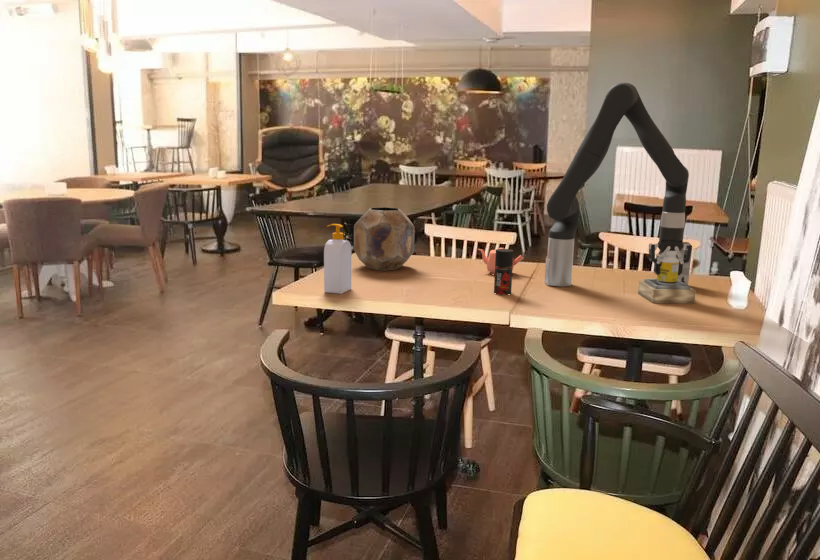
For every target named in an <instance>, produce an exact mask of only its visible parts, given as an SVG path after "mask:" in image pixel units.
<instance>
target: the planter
mask: <svg viewBox="0 0 820 560" xmlns="http://www.w3.org/2000/svg"><path fill="white" fill-rule="evenodd" d="M415 233H416V232H415V225H414V224H413V222H412V221H411V220H410V218H409V217H408V216H407V215H406V214H405V213H404V212H403V211H402V210H401V209H400V208H397V207H386V206H385V207H370V208H368V210H367V211H366V212H365V213H364V214H363V215H362V216H361V217H360V218H359V219H358V220H357V221H356V222H355V224H354V225H353V251H354V253H355V256H356V257H357V258H358V260H359V261H360V262H361V263H362V264H363V265H365V267H367V269H369V270H375V271H383V272H384V271H385V272H386V271H393V270H395V271H396V270H399V268H401V267H402V266H403V265H404V264H406V263H407V261H408V260H410V257H411V256H412V255H413V254H414V253H415Z"/></svg>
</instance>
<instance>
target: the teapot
mask: <svg viewBox="0 0 820 560" xmlns="http://www.w3.org/2000/svg"><path fill="white" fill-rule="evenodd" d="M497 249H505V248H504V247H498V248H497ZM477 250H478V251H479V252H481V256H482V257H481V258H482V261H483V264H485V265H486V270H487V272H491V273H490V275H491V274H495V257H496V249H491V250H490V251H489V254H488V257H487V255H486V253H485V250H484V249H482V248H477ZM522 260H524V257H523V256H522V254H520V255H518V257H516V258H514V259H513V267H512V271H513V270H514V267H515V266H516V265H517V264H518V263H520V262H521V261H522Z"/></svg>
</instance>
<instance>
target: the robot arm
mask: <svg viewBox="0 0 820 560" xmlns="http://www.w3.org/2000/svg"><path fill="white" fill-rule="evenodd" d="M624 116H625V118H626V119H627V120H628V122H630V123H631V125H632V127H633V129H634V130H635V132H636V134H637V137H638V139H639V141H640V144H641V146H642V147H643V148H644V150H645V152H646V153H647V155H648V156H649V157H650V158H651V160H652V162H654V163H655V165H656V166H657V168H658V170H659V171H660V173H661V175H662V177H663V178H664V180H665V191H664V192H665V193H664V196H663V204H662V212H661V217H660V222H659V225H660V226H659V236H658V239H659V240H658V242H657V243H649V244H648V260H649V262H652V263H653V273H654V274H655V275H656V276H657V275H659V273H660V264H659V263H660V262H661V260H662V259H663V258H664V257H665V255H666V254H667V251H677V255H676V257H677V258H678V259H679V268H678V275H680V274H681V273H682V269H683V264H684V263H688V262H689V260H690V255H691V256H692V253H691V250H692V251H693V245H689V244H683V242H684V234H685V233H684V232H685V227H686V226H685V224H686V208H687V192H688V191H687V190H688V184H689V177H690V173H689V170H688V169H687V167H686V166H684V164H683V163H682V161H681V160H680V159H679V158H678V156H677V155H676V154H675V151H674V150H673V148H672V146H671V144H670V143H669V142H668V140H667V138H666V137H665V136H664V134H663V133H662V131H660V129H659V128H658V126H657V124H656V123H655V122H654V120H653V119H652V117H651V115H650V114H649V111H648V110H647V109H646V106H645V105H644V102H643V100H642V98H641V96H640V94H639V92H638V89H637V87H636V86H634V85H633V84H632V83H630V82H629V83H628V82H620V83H616V84H614V85H611V87H610V88H609V89H608V91H607V92H606V95H605V97H604V99H603V102H602V104H601V107H600V109H599V112H598V114H597V116H596V118H595V120H594V122H593V123H592V125H591V126H590V128H589V130H588V131H587V133H586V134H585V136H584V138H583V139H582V141H581V143H580V145H579V147H578V149H577V150H576V152H575V154H574V156H573V159H572V160H571V162H570V163H569V166H568V168H567V169H566V172H565V174H564V176H563V177H562V179H561V181H560V182H559V184H558V185H557V187H556V189H555V190H554V191H553V192H552V194H551V195H550V197H549V199H548V201H547V204H546V211H547V212H546V213H547V215H548V217H549V218H550V219H553V220H554V222H553V224H552V226H551V228H550V229H549V231H548V242H547V243H548V244H547V256H545V266H544V267H545V269H544V283H545V284H546V285H547V286H553V287H570V286H572V279H573V264H574V263H573V262H574V250H575V249H574V248H575V247H574V246H575V238H576V237H575V235H576V232H577V230H578V227H579V225H578V224H579V216H580V203H579V200H578V198H577V194H579V192H580V189H581V188H582V187H583V186H584V184H585V183H587V181H588V180H590V179H591V177H592V176H593V175H594V174H595V173H596V172H597V171H598V169H599V168H600V166H601V165H602V163H603V161H604V159H605V157H606V155H607V154H608V151H609V149H610V146H611V143H612V139H613V136H614V134H615V133H614V132H615V131H616V129H617V127H618V125H619V124H620V122H621V120H622V118H623V117H624ZM657 248H658V250H659V251H658V252H657V254H656V250H657ZM682 248H684V250H685V251H684V257H683V259H682V256H681V253H680V251H681V249H682Z"/></svg>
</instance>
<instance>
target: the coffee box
mask: <svg viewBox="0 0 820 560" xmlns="http://www.w3.org/2000/svg"><path fill="white" fill-rule="evenodd" d="M683 244H689V245H691V243H690V242H689V241H683ZM684 251H685V250H684V248H682V249H681V251H680V253H681V256H682V259H683V257H684ZM692 251H693V249H692V250H691V255H690V260H689V262H688V263H684V264H683V269H682V273H681V274H680V275H678V277H677V280H679V281H681V282H683V283H685V284H687V285H689V278H690V270H691V263H692V262H691V259H692Z"/></svg>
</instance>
